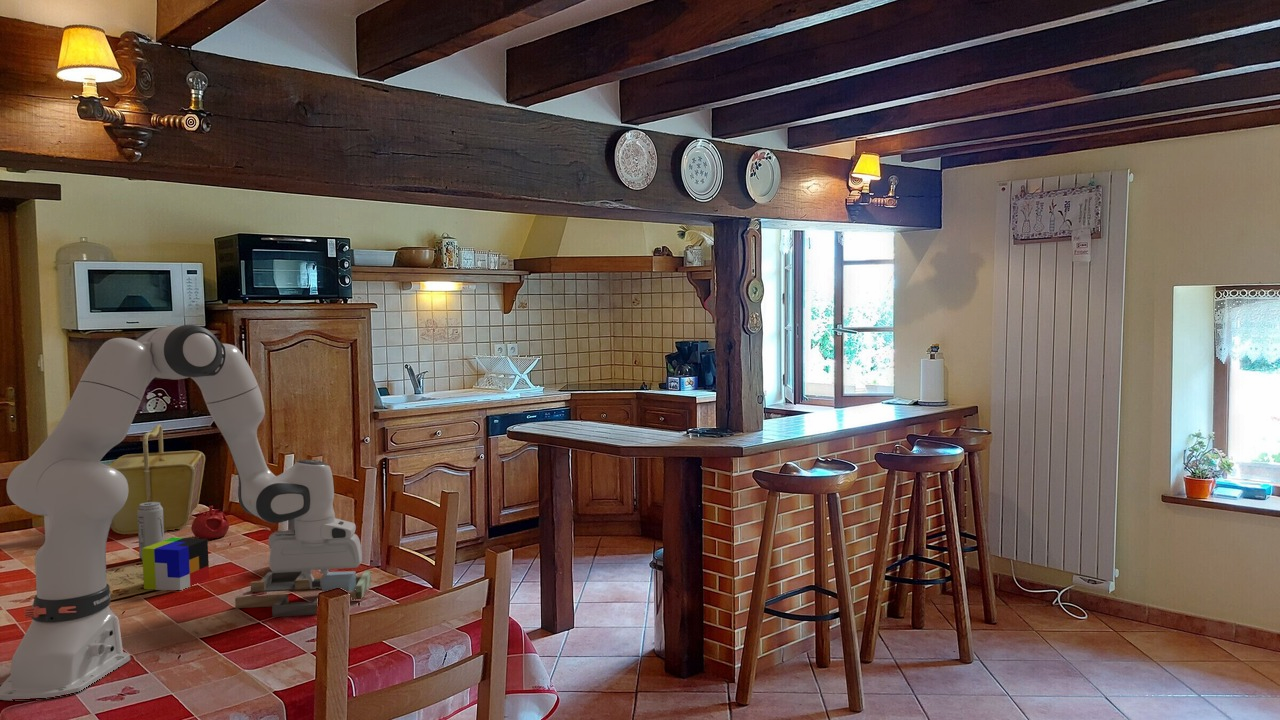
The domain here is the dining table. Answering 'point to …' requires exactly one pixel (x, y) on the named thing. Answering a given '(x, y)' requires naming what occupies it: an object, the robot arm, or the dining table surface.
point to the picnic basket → (159, 484)
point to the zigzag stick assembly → (291, 582)
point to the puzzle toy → (175, 563)
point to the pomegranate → (210, 525)
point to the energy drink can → (150, 524)
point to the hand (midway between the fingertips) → (317, 587)
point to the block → (339, 581)
